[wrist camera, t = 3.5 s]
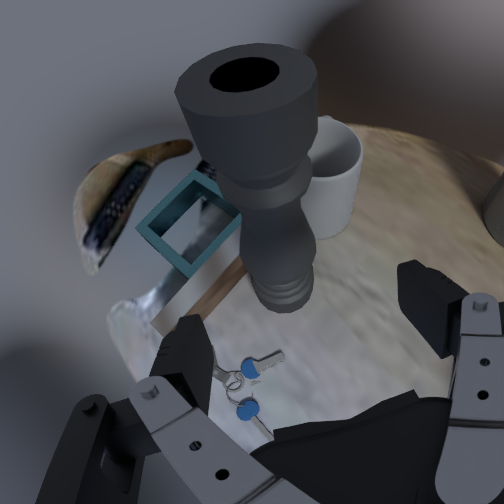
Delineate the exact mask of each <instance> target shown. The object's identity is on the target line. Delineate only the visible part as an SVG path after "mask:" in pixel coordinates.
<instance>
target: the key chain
mask: <svg viewBox="0 0 504 504" xmlns="http://www.w3.org/2000/svg"><path fill="white" fill-rule="evenodd" d="M212 348H213V352H214V366H213V374H212V376H213V377H215V378H216V379H218V380H219V381H221V382H223V387H224V388H225V389H226V390H227V399H228V400H229V401H230V403H231V404H233V405H235V406H239V407H238V410H237V415H238V418H240V419H241V420H244V421H247V420H250V419H251V421H252V422H253V423H254V424H255V425H256V426H257V427H258V428H259V429H260V431H261V432H262V434H263V435H264V436H265V437H267V439H268V440H269V441H273V440H274V437H273V435H272V434H271V433H269V432H268V430H267V429H266V428H265V426H264V425H263V424H262V423H261V422H260V421H259V420H258V419H257V418H256V416H255V415H257V414H258V412H259V406H258V404H257V403H256V402H255V401H251V400H252V398H253V392H252V396H251V399H250V401H246V402H244V403H246V404H244V403H242V404H241V405H236V404H234V403H232V402H231V400H230V399H229V397H228V391H229V392H232V393H236V392H238V391H240V390H241V389H242V388H243V386H244V378H243V376H242V375H241V374H240V373H242V374H243V375H244V376H245V377H246V378H249V379H254V378H257V377H258V376H259V374H260V372H261V369H262V371H264V369H266V367H267V366H268V368H269V367H273V366H272V364H274V365H275V364H276V362H278V361H280V362H282V361H283V359H284V354H283V353H282V352H280V353H278V354H275V355H273V356H271V357H269V358H266V359H264V360H262V361H260V362H258V361H255V360H253V359H248V360H246V361H245V362H244V363H243V364H242V367H241V371H242V372H236V371H231V372H229V373H226V372H224V371H223V370H221V369H220V368H218V365H217V360H216V356H215V351H214V347H213V346H212ZM231 374H235V379H236V380H237V382H235V383H232V384H231V385H230V386H229V387H227V386H226V382H227V380H228V379H229V377H230V376H231ZM236 375H237V376H239V377H240V379H241V380H238V379H237V378H236ZM238 381H239V382H240V381H241V385H240V387H239V388H237V389H235V390H232V389H229V388H230V387H231V386H232V385H233V384H236V383H238ZM259 382H261V381H253V382H252V383H251V386H252V385H254V384H257V383H259ZM243 404H244V405H243ZM241 406H243V407H241Z"/></svg>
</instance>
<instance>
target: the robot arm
mask: <svg viewBox="0 0 504 504" xmlns="http://www.w3.org/2000/svg"><path fill="white" fill-rule="evenodd" d="M482 212H483V218H484V222H485V224H486V226H487V228H488V230H489V232H490V234H491V235H492V236H493V237H494V239H495V240H496V241H497V242H498V243H499V244H500V245H502V246H503V247H504V172H503V174H502V175H501V177H500V178H499V180H498V181H497V182H496V184H495V185H494V187H493V188H492V190H491V191H490V193H489V194H488V195H487V197H486V198H485V200H484V202H483V206H482ZM397 280H398V302H399V306H400V309H401V311H402V313H403V314H404V315H405V316H406V317H407V319H408V320H409V321H410V322H411V323H412V324H413V326H414V327H415V328H416V329H417V330H418V331H419V333H420V334H421V335H422V336H423V337H424V339H425V340H426V341H427V342H428V343H429V345H430V346H431V347H432V348H433V350H434V351H435V352H436V353H437V355H438V356H439V357H440V358H441V359H444V358H446V357H448V356H450V355H453V356H454V361H453V367H452V373H451V379H450V385H449V391H448V396H447V398H442V397H424V398H419V397H418V396H417V394H416V392H415V391H414V389H413V390H411V391H408V392H406V393H403V394H400V395H398V396H395V397H392V398H389V399H387V400H384V401H381V402H380V403H378V404H376V405H374V406H373V407H371V408H369V409H367V410H366V411H364V412H362V413H360V414H358V415H357V416H355V417H353V418H351V419H347V420H337V421H322V422H308V423H303V424H299V425H294V426H290V427H285V428H280V429H275V430H273V433H274V440H273V441H270V442H268V443H266V444H264V445H262V446H260V447H259V448H257V449H255V450H254V451H252V452H251V453H250V454H248V453H247V452H246V451H245V450H243V449H242V448H241V447H240V446H239V445H238V444H237V443H235V442H234V441H233V440H232V439H231V438H230V437H229V436H228V435H227V434H226V433H224V432H223V431H222V430H221V429H220V428H219V427H218V426H217V425H216V424H215V423H214V422H213V421H212V420H211V419H210V418H209V417H208V410H209V401H210V392H211V383H212V374H213V366H214V352H213V348H212V345H211V342H210V340H209V337H208V334H207V332H206V329H205V327H204V324H203V321H202V319H201V317H200V315H199V314H193V315H188V316H183V317H180V318H179V320H178V323H177V326H176V329H175V331H170V332H169V333H168V334H167V335H166V336H165V337H164V338H163V340H162V342H161V345H160V347H159V349H160V350H158V353H157V357H156V358H155V361H154V364H153V366H152V369H151V372H150V375H149V377H147V378H145V379H143V380H141V381H139V382H138V383H136V384H135V385H134V386H133V387H132V389H131V390H130V393H129V398H127V399H124V400H121V401H118V402H114V403H111V404H110V403H109V402H108V400H107V399H106V398H105V396H103V395H100V394H94V395H90V396H87V397H86V398H83V399H82V400H81V401H79V402H78V403H77V405H76V406H75V408H74V410H73V412H72V414H71V416H70V418H69V421H68V423H67V425H66V427H65V430H64V432H63V434H62V436H61V439H60V441H59V443H58V446H57V448H56V450H55V453H54V456H53V458H52V460H51V463H50V465H49V468H48V470H47V473H46V475H45V478H44V481H43V483H42V486H41V489H40V492H39V494H38V497H37V500H36V503H35V504H137V502H138V495H139V489H140V483H141V477H142V471H143V465H144V460H145V456H147V455H151V454H154V453H158V452H161V451H162V452H163V454H164V455H165V457H166V458H167V459H168V461H169V462H170V463H171V464H172V466H173V467H174V469H175V470H176V471H177V473H178V474H179V475H180V476H181V478H182V479H183V480H184V482H185V483H186V484H187V486H188V487H189V488H190V489H191V490H192V492H193V493H194V494H195V495H196V496H197V498H198V499H199V500H200V501H201V502H202V504H504V302H500V303H498V301H497V300H496V299H495V298H494V297H493V296H491V295H489V294H486V293H473V294H469V293H468V292H467V291H465V290H464V289H463V288H462V287H460V286H459V285H458V284H456V283H455V282H453V281H452V280H451V279H450V278H448V277H447V276H446V275H444V274H443V273H442V272H440V271H438V270H435V269H432V268H429V267H428V268H427V267H425V266H424V265H423V264H421V263H420V262H419V261H417V260H415V259H414V260H411V261H408V262H404V263H401V264H399V265H398V267H397ZM103 452H104V453H105V458H104V461H103V465H102V468H101V465H100V464H101V459H102V455H103Z"/></svg>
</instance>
